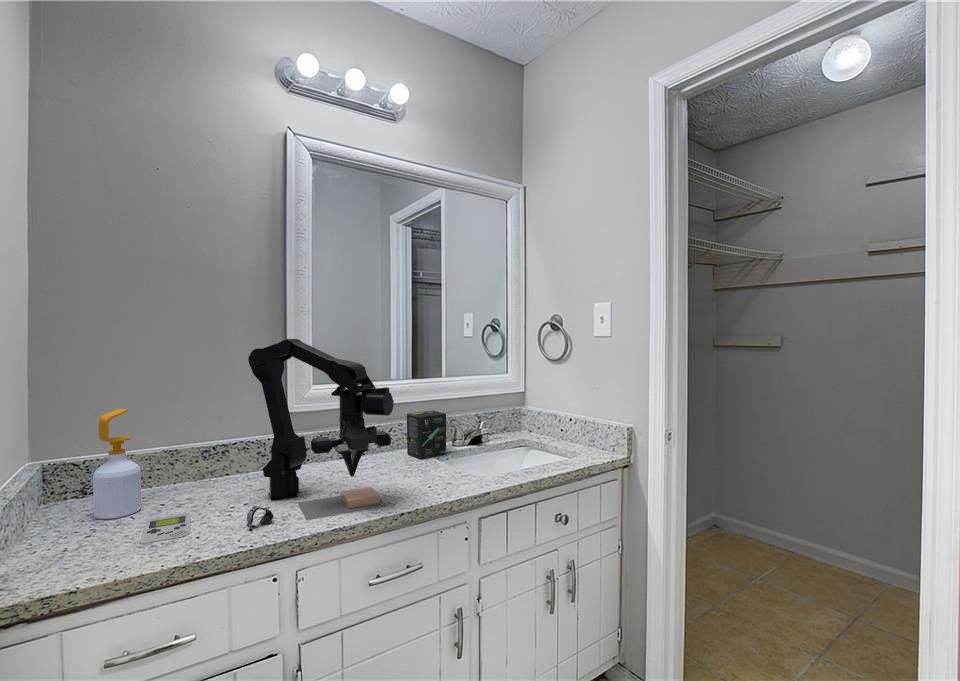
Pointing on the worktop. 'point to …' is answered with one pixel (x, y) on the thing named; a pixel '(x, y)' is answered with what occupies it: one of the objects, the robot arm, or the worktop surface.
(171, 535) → the handheld gaming device
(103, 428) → the soap bottle
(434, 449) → the tampon box
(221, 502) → the worktop surface
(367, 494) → the tile
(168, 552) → the worktop surface
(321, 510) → the mat
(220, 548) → the worktop surface
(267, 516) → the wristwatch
